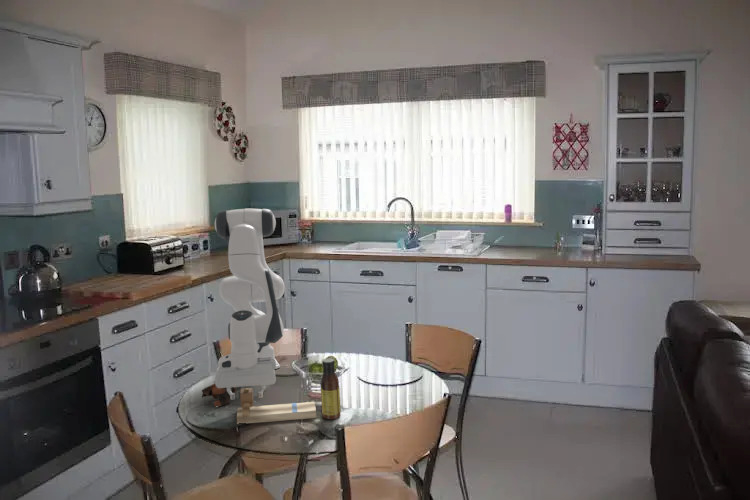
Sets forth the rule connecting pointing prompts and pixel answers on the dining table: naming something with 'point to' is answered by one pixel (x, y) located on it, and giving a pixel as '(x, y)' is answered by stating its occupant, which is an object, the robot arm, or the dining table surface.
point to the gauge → (246, 400)
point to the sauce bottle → (330, 390)
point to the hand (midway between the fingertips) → (246, 398)
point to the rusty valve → (218, 394)
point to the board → (278, 412)
